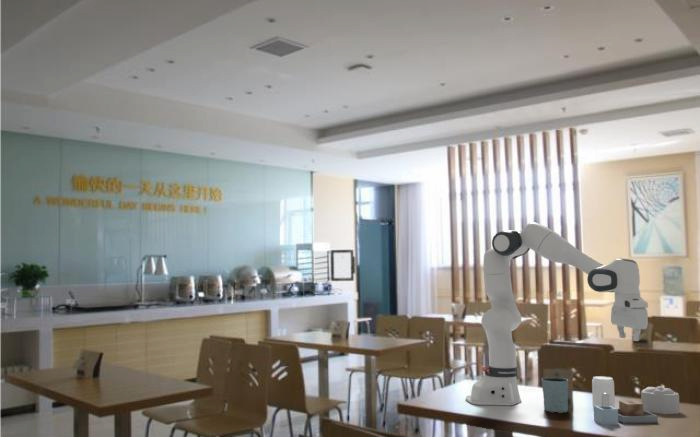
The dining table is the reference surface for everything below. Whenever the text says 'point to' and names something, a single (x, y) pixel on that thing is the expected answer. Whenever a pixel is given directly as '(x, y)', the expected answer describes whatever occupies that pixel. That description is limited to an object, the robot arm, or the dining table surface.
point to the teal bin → (555, 394)
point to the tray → (638, 418)
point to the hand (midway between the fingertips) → (629, 339)
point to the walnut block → (630, 408)
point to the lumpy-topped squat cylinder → (660, 400)
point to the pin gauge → (605, 401)
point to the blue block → (606, 415)
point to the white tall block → (602, 390)
